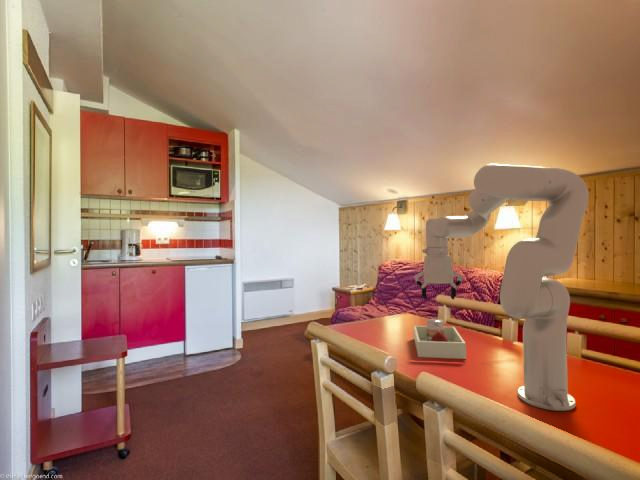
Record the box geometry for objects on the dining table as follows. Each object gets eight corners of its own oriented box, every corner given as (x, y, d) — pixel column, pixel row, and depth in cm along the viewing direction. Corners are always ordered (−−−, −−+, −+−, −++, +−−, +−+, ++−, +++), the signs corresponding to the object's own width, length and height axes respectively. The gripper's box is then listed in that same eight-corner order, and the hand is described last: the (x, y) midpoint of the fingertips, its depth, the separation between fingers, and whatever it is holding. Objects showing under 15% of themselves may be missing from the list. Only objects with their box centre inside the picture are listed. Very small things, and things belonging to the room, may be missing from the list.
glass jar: (445, 345, 133) (444, 322, 133) (428, 345, 134) (427, 322, 134) (442, 340, 139) (442, 318, 139) (426, 340, 141) (425, 318, 141)
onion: (449, 355, 123) (448, 333, 122) (432, 354, 124) (432, 332, 124) (446, 349, 128) (446, 328, 128) (430, 349, 129) (430, 328, 129)
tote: (466, 360, 119) (465, 343, 119) (418, 358, 122) (417, 341, 122) (454, 341, 140) (454, 326, 140) (414, 340, 143) (413, 325, 143)
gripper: (413, 253, 124) (415, 300, 124) (464, 251, 120) (466, 300, 120) (412, 252, 131) (413, 297, 131) (460, 251, 128) (461, 297, 128)
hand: (438, 298), depth 126 cm, fingers open, 9 cm apart
